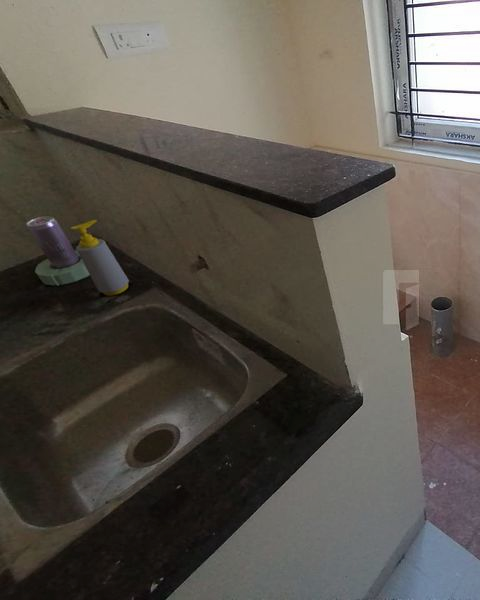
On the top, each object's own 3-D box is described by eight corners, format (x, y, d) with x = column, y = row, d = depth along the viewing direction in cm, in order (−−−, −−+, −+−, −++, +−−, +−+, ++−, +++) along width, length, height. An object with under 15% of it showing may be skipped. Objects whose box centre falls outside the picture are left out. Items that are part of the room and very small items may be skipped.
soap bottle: (136, 286, 99) (102, 223, 88) (107, 300, 95) (67, 235, 84) (124, 278, 102) (89, 215, 91) (95, 291, 98) (55, 227, 87)
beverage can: (82, 262, 109) (52, 213, 100) (87, 270, 106) (56, 220, 97) (57, 271, 106) (23, 221, 97) (61, 279, 103) (26, 228, 93)
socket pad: (52, 291, 98) (45, 281, 97) (34, 274, 105) (27, 265, 103) (108, 268, 107) (103, 258, 105) (88, 254, 113) (83, 245, 111)
